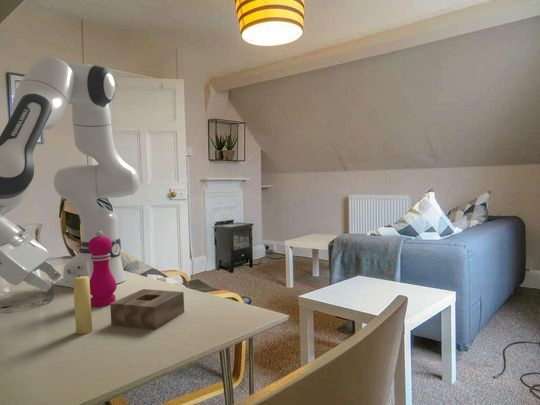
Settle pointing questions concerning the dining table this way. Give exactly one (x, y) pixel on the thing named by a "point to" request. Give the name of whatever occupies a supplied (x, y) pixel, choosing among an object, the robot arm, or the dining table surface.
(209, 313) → the dining table surface
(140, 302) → the socket block
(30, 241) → the robot arm
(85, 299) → the dowel
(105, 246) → the pepper mill
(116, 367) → the dining table surface
